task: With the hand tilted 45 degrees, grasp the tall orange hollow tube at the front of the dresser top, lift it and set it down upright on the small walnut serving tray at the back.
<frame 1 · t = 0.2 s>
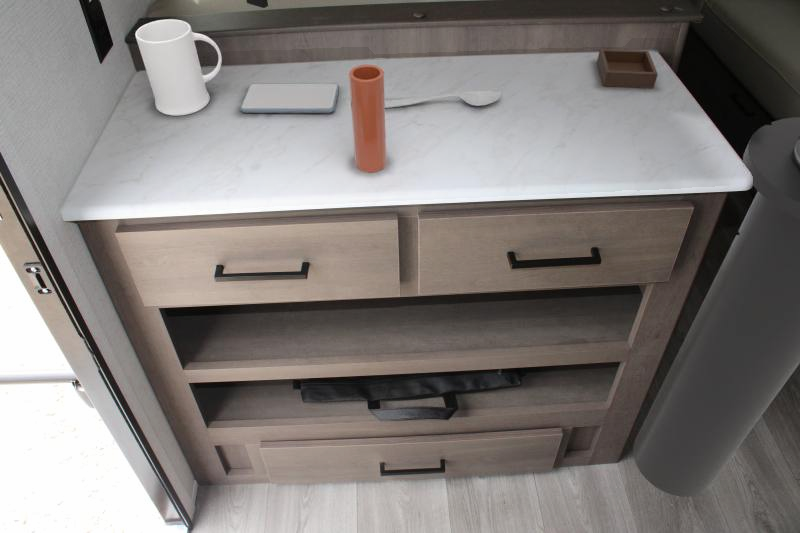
smartphone: (291, 101, 103), on the dresser top
tray: (624, 75, 108), on the dresser top
spoon: (436, 105, 102), on the dresser top
orange hollow tube: (370, 163, 90), on the dresser top
mug: (193, 101, 103), on the dresser top
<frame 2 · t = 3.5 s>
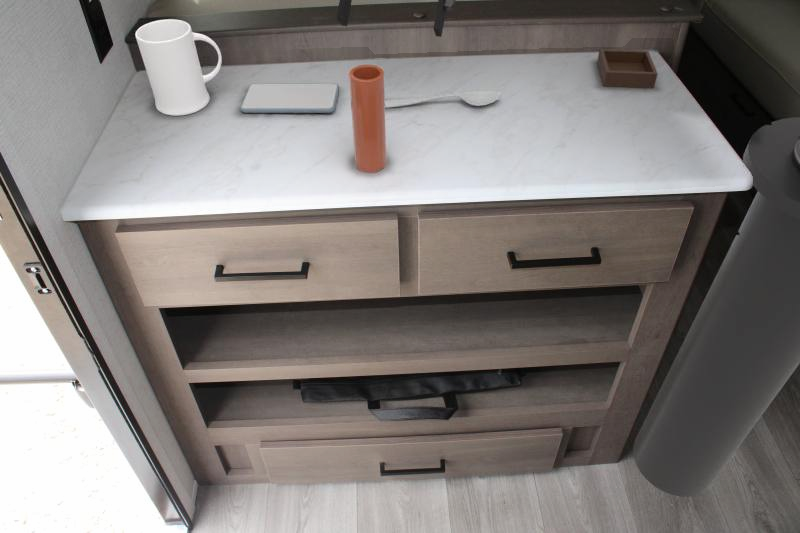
hand: (388, 27, 87), 15 cm above the dresser top, tool tilted 45°, fingers open, 13 cm apart
nothing on the dresser top moved.
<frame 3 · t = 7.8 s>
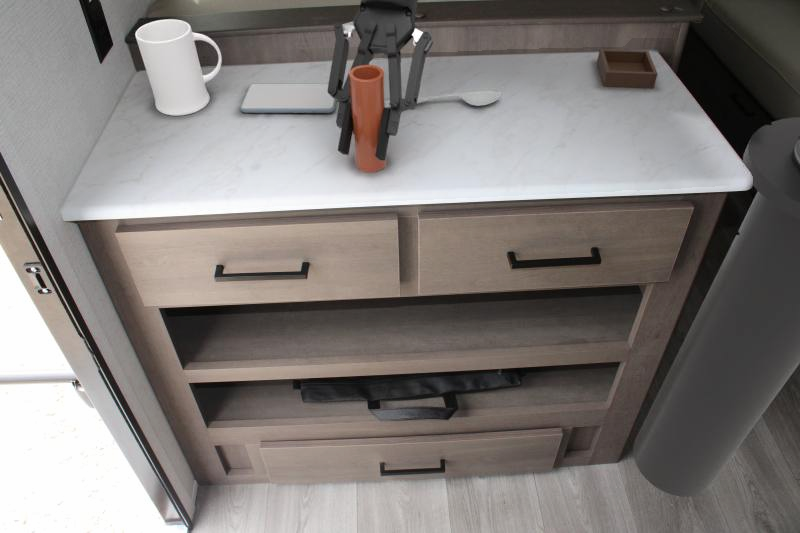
hand: (361, 155, 85), 4 cm above the dresser top, tool tilted 45°, fingers closed on orange hollow tube, 4 cm apart
orange hollow tube: (370, 163, 90), on the dresser top, touching gripper
everything else where it was.
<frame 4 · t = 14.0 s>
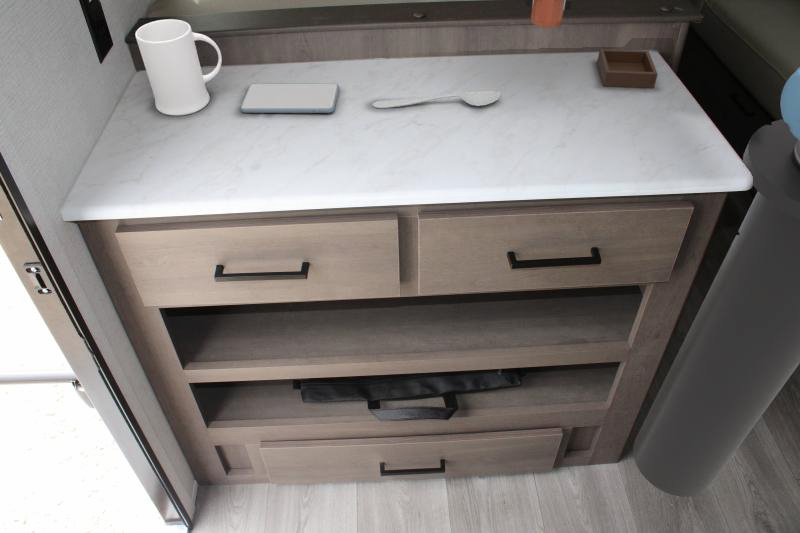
hand: (548, 3, 85), 18 cm above the dresser top, tool tilted 45°, fingers closed on orange hollow tube, 4 cm apart
orange hollow tube: (546, 20, 90), point 14 cm above the dresser top, touching gripper
everything else where it was.
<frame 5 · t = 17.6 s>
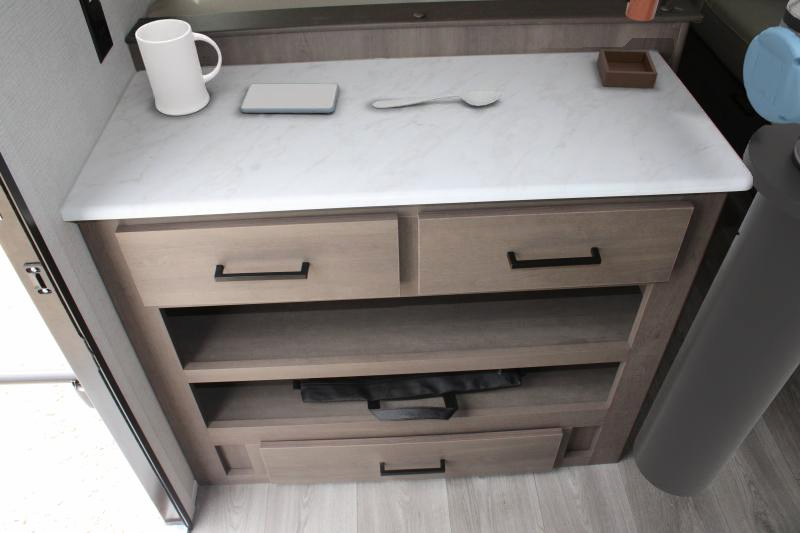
orange hollow tube: (639, 15, 101), point 10 cm above the dresser top, touching gripper
everything else where it was.
when the fingers open (4 cm above the dresser top, at t = 20.5 s): orange hollow tube stays where it is, resting on tray.
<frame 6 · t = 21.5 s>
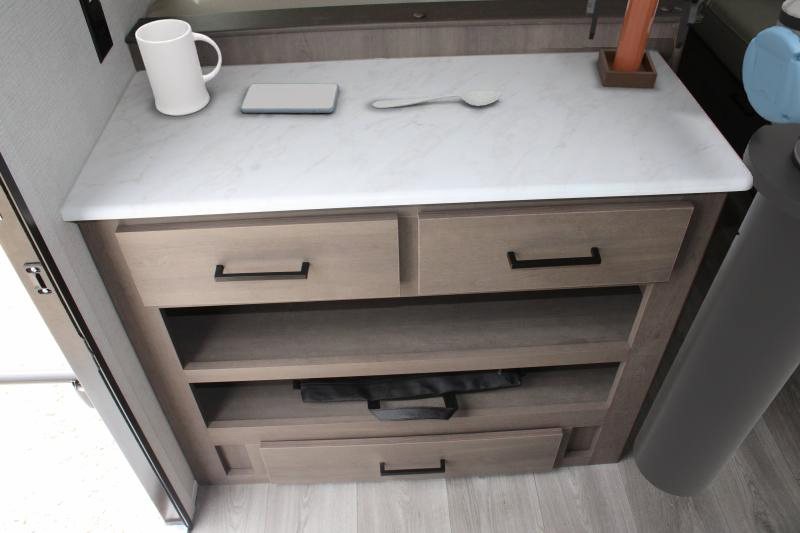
hand: (634, 41, 101), 7 cm above the dresser top, tool tilted 45°, fingers open, 13 cm apart
orange hollow tube: (624, 71, 107), point 1 cm above the dresser top, touching tray
everything else where it was.
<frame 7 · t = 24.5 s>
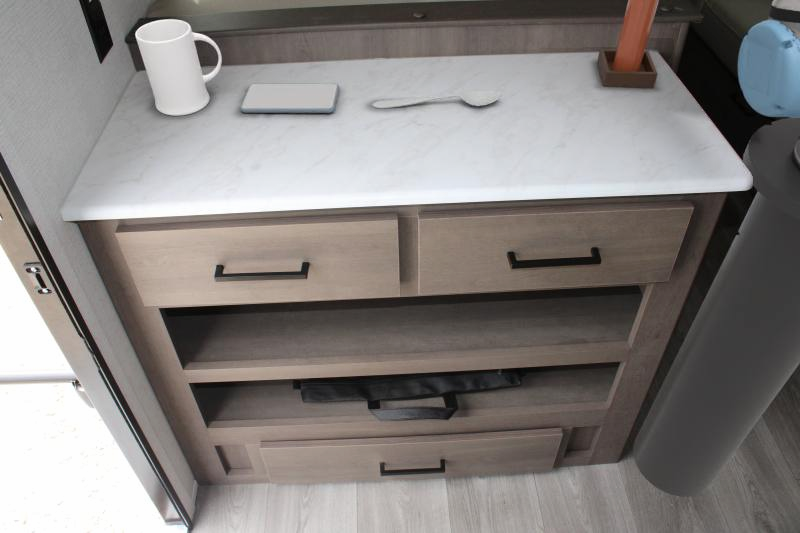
nothing on the dresser top moved.
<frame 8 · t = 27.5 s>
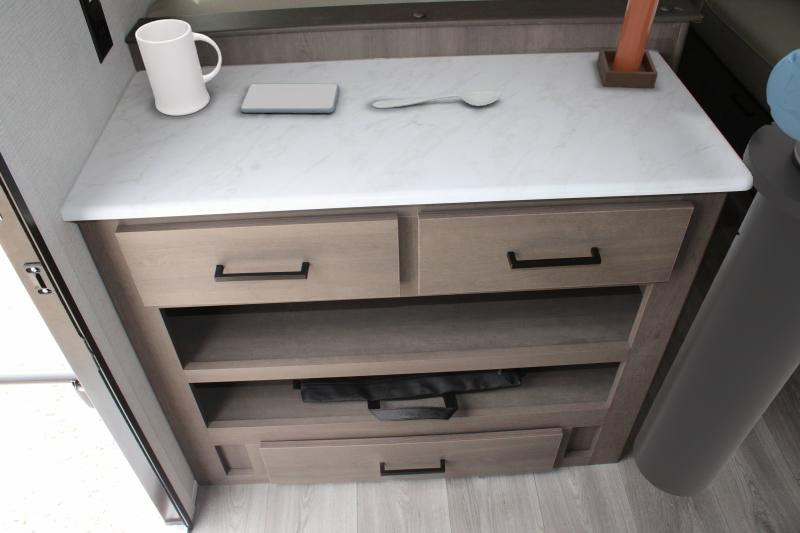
nothing on the dresser top moved.
at the end: orange hollow tube 0.1 cm off-centre in the tray, point 0.6 cm above the tray's base; orange hollow tube tilted 0°; the gripper is holding nothing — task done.
